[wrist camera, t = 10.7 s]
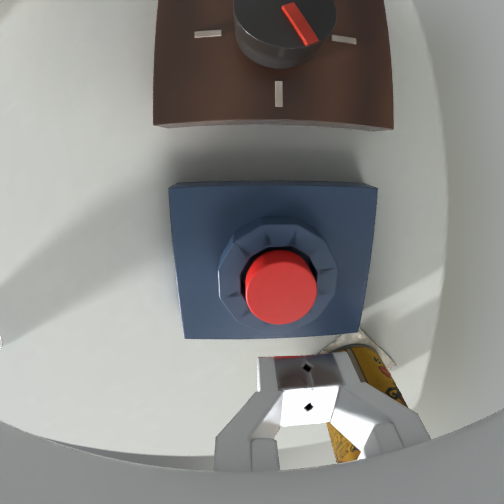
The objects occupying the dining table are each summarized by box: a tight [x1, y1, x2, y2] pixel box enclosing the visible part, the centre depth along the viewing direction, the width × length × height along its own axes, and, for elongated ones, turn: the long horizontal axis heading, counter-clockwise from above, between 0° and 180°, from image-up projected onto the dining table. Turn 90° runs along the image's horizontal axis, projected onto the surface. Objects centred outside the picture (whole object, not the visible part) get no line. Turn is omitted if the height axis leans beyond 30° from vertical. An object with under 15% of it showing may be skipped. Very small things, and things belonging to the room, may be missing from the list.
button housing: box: [169, 181, 378, 339], centre depth 18 cm, size 12×10×4 cm
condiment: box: [317, 329, 408, 464], centre depth 18 cm, size 7×8×12 cm
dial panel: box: [153, 0, 394, 131], centre depth 14 cm, size 13×10×3 cm
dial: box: [233, 0, 337, 69], centre depth 11 cm, size 4×4×4 cm
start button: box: [245, 250, 317, 324], centre depth 16 cm, size 4×4×2 cm
